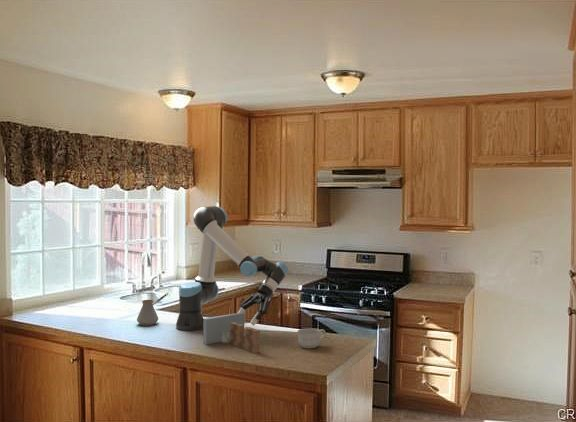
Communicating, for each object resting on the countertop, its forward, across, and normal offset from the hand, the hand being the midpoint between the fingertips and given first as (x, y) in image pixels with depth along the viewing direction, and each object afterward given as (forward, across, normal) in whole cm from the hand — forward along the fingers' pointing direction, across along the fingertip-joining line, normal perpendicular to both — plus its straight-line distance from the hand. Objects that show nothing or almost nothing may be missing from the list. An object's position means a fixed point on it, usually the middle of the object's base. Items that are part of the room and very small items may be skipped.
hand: (243, 321), depth 274 cm
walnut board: (+13, -16, +2) cm, 21 cm away
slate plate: (+13, +1, +2) cm, 13 cm away
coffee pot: (+20, +56, +9) cm, 60 cm away
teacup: (-5, -34, -16) cm, 38 cm away
